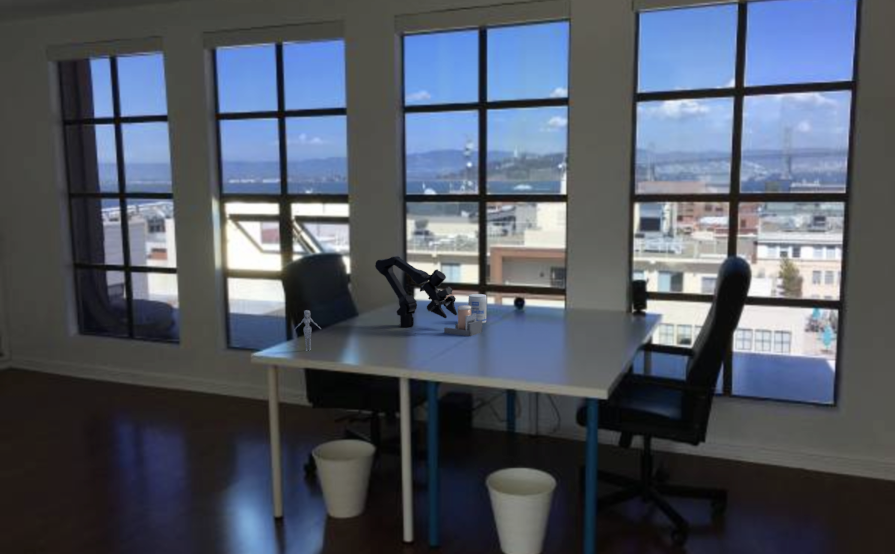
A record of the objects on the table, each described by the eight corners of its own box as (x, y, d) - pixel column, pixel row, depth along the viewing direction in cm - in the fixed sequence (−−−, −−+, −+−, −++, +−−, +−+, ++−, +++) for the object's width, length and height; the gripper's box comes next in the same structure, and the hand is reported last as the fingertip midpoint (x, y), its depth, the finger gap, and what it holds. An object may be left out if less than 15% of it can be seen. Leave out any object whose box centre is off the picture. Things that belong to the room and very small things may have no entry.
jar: (459, 334, 343) (459, 307, 341) (456, 331, 349) (456, 305, 348) (472, 333, 344) (472, 307, 343) (469, 330, 351) (469, 305, 349)
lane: (444, 333, 347) (444, 320, 346) (456, 329, 356) (456, 317, 355) (470, 337, 339) (470, 323, 338) (482, 333, 348) (482, 320, 347)
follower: (465, 334, 342) (465, 315, 340) (474, 331, 349) (474, 313, 347) (467, 334, 341) (467, 316, 340) (476, 331, 348) (476, 313, 347)
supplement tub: (471, 324, 368) (471, 297, 366) (465, 321, 377) (465, 294, 375) (489, 323, 371) (489, 295, 369) (483, 320, 380) (482, 293, 378)
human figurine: (294, 351, 314) (292, 311, 311) (295, 349, 317) (293, 310, 315) (321, 350, 315) (320, 310, 313) (322, 348, 319) (320, 309, 316)
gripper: (431, 284, 343) (450, 308, 339) (452, 279, 359) (471, 303, 354) (418, 299, 349) (437, 323, 344) (439, 293, 364) (457, 317, 359)
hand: (451, 316), depth 350 cm, fingers open, 9 cm apart
